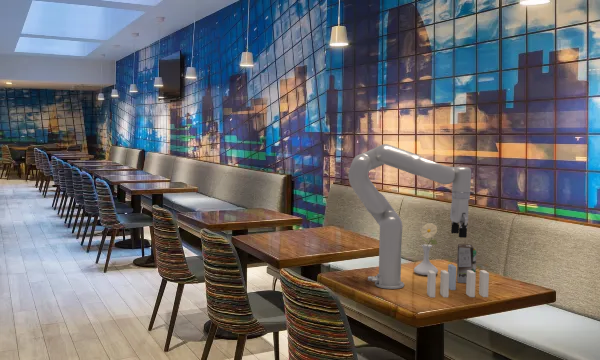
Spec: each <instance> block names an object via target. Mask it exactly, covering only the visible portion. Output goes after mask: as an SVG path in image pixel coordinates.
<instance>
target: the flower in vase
mask: <svg viewBox="0 0 600 360" xmlns="http://www.w3.org/2000/svg"><path fill="white" fill-rule="evenodd" d="M420 232H421V239H422V240H423V241H425V242H426V243H427V244H421V247H422V250H423V260H422V261H421V262H420V263H419V264H417V265H416V266H415V267H414V268H413V272H414V273H416V274H418V275H422V276H428V270H433V271H434V272H435V273H436V275H437V274H438V272H439V270H438V268H437V267H436V266H435V265H434V264H433V263H431V261H430V260H429V259H430V257H429V256H430V252H431V251H430V250H431V248H432V247H433V245H438V242H437V240H436V239H435V238H434V237H435V235H436V234H437V232H438V227H437V225H436V224H434V223H432V222H430V223H429V222H427V223H426V224H424V225H423V226H422V228H421V230H420ZM433 238H434V239H433ZM427 239H430V240H429V242H428V240H427ZM430 243H431V244H432V245H431V244H430Z"/></svg>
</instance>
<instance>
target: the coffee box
mask: <svg viewBox="0 0 600 360" xmlns="http://www.w3.org/2000/svg"><path fill="white" fill-rule="evenodd" d="M473 248H474V246H473V245H472V244H471V243H470V244H465V243H461V244H459V243H458V244H457V253H456V255H457V260H456V282H457V283H458V284H459V283H460V284H466V280H467V270H473Z"/></svg>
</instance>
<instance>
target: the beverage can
mask: <svg viewBox="0 0 600 360" xmlns="http://www.w3.org/2000/svg"><path fill="white" fill-rule="evenodd" d="M472 271H473V272H475V273H476V272H477V250H476V248H474V247H473V270H472Z"/></svg>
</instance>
